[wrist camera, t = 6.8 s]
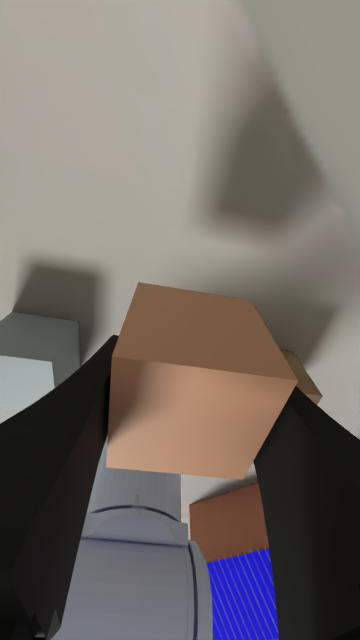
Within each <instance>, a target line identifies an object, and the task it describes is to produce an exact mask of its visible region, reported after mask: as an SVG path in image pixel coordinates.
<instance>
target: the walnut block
mask: <svg viewBox="0 0 360 640" xmlns="http://www.w3.org/2000/svg"><path fill="white" fill-rule="evenodd" d="M280 351H281V352H282V354H283V356H284V357H285V359H286V361H287V362H288V364H289V366H290V368H291V369H292V371H293V373H294V374H295V376H296V378H297V379H298V382H297V384H296V386H297V387H298V388H299V389H300V390H301V391H302V392H303V393H304V394H305V395H306V396H307V397H308V398H310V399H311V400H312V401H313V402H314V403H315V404H316V405H317V404H318V402H319V401H320V399H321V398H322V395H321V393H320V391H319V390H318V388H317V387H316V385H315V384H314V382H313V381H312V379H311V378H310V376H309V375H308V373H307V372H306V370H305V369H304V367H303V366H302V364H301V363H300V361H299V359H298V358H297V356H296V355H295V353H294V352H290V351H283V350H280Z"/></svg>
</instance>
